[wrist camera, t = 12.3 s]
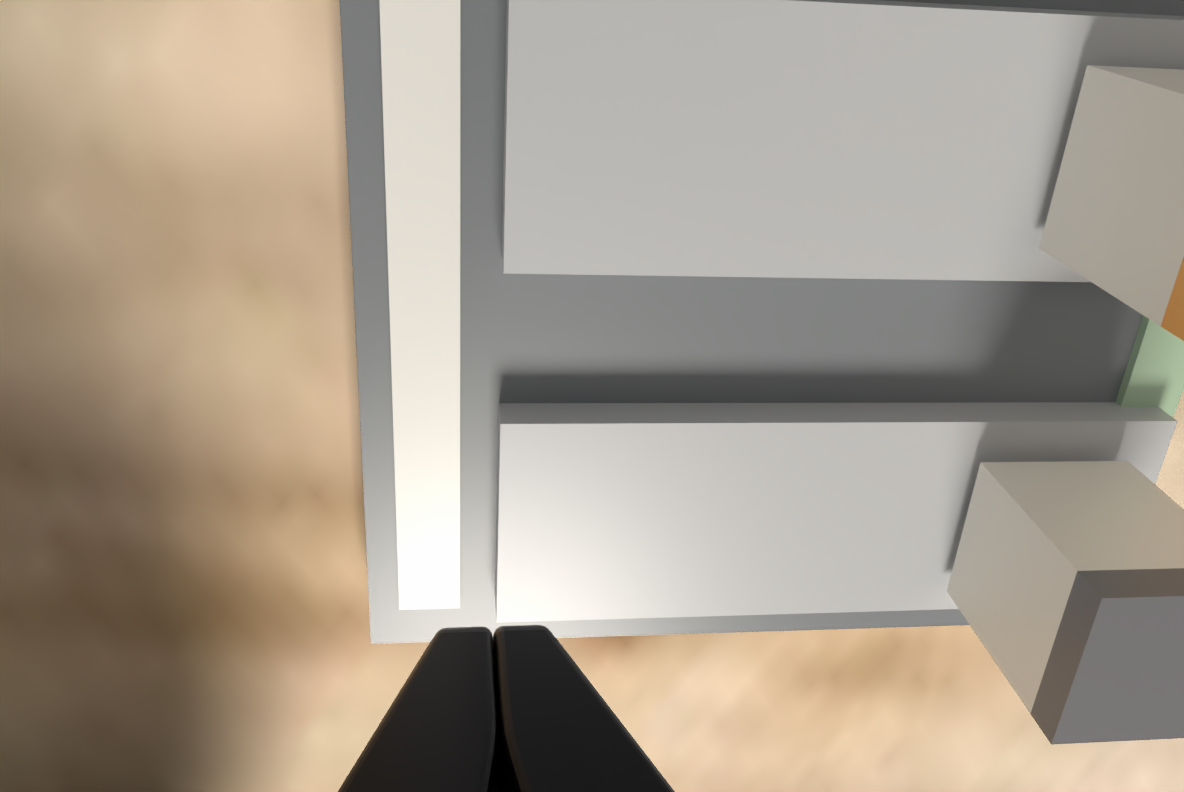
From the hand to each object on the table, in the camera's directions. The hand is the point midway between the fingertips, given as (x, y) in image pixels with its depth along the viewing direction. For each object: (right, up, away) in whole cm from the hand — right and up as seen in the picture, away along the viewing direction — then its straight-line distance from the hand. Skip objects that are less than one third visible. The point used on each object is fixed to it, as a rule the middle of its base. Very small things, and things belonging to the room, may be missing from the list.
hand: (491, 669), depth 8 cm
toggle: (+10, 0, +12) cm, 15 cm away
